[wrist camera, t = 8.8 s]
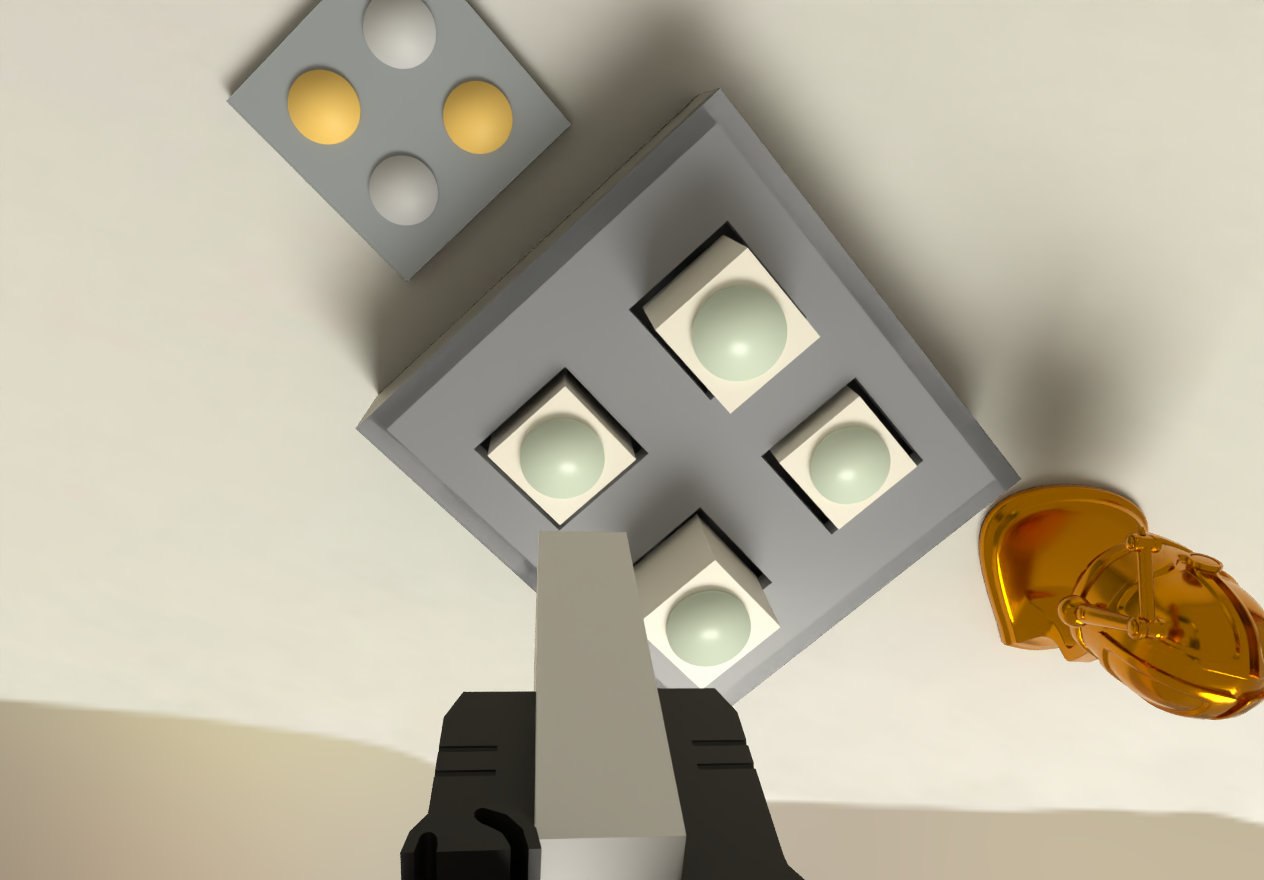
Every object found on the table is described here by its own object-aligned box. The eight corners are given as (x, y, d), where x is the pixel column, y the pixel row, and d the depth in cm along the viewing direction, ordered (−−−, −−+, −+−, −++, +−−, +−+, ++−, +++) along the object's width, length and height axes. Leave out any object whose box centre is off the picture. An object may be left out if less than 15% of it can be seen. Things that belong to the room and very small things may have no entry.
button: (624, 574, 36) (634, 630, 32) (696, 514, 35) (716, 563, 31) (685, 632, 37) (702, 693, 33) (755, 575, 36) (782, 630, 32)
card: (232, 101, 32) (224, 100, 31) (400, -76, 30) (396, -81, 30) (408, 279, 35) (406, 282, 34) (570, 124, 33) (571, 124, 33)
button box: (378, 394, 36) (355, 428, 32) (698, 94, 33) (720, 88, 29) (679, 676, 42) (693, 735, 38) (970, 442, 40) (1021, 479, 35)
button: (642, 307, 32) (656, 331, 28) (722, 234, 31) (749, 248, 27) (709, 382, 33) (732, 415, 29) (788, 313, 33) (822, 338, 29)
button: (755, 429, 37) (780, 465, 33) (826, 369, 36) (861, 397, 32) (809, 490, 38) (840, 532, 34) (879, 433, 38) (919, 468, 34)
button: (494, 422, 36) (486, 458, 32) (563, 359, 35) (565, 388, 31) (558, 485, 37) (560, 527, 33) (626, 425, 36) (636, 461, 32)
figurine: (1169, 458, 41) (1406, 579, 30) (1103, 650, 44) (1293, 824, 33) (1004, 444, 40) (1185, 564, 28) (949, 642, 43) (1091, 819, 32)
